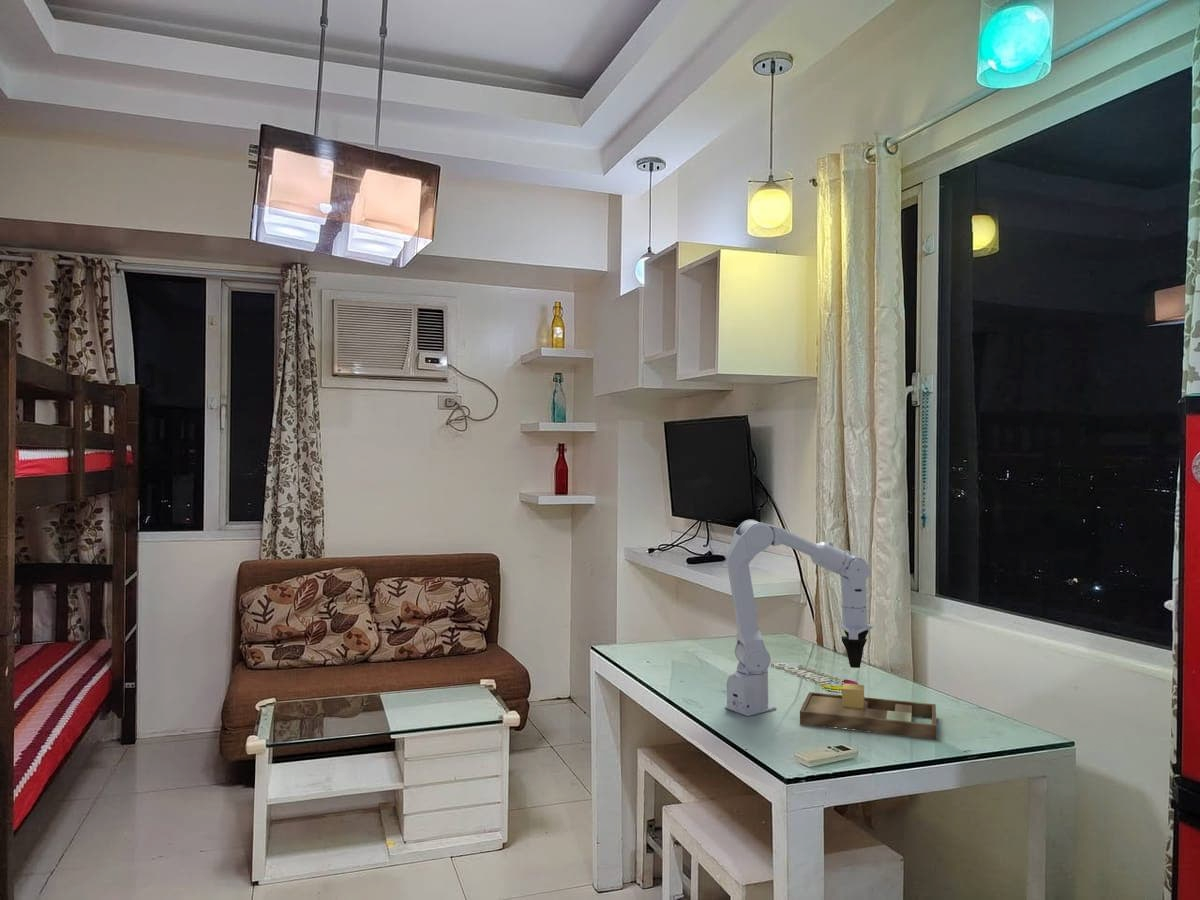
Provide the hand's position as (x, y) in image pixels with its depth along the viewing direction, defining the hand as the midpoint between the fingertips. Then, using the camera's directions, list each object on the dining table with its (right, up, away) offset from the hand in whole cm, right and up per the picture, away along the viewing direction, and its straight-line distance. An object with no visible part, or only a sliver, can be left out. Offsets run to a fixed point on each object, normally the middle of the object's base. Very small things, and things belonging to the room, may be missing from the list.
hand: (856, 663), depth 195 cm
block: (-3, -7, -8) cm, 11 cm away
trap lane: (-1, -10, -12) cm, 15 cm away
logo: (-4, -11, +24) cm, 26 cm away
